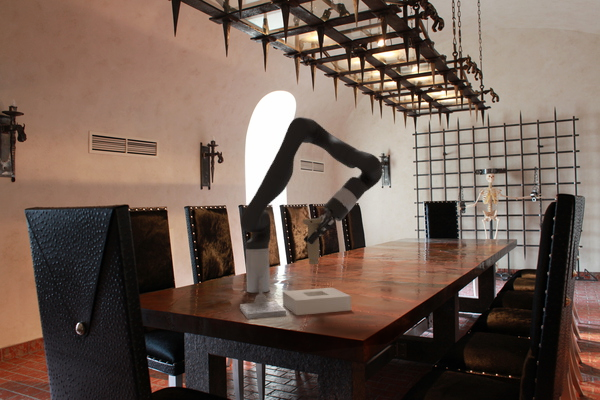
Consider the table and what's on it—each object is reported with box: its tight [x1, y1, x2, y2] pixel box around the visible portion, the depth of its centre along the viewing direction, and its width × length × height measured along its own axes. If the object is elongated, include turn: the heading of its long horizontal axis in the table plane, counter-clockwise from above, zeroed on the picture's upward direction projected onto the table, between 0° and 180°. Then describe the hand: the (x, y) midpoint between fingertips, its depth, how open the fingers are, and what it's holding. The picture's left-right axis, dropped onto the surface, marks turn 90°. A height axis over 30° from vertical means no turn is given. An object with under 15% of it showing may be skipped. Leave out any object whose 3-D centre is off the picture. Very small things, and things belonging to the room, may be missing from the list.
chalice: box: [250, 249, 270, 303], centre depth 172 cm, size 7×7×18 cm
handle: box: [302, 218, 322, 266], centre depth 159 cm, size 5×6×15 cm
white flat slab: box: [239, 300, 287, 320], centre depth 154 cm, size 16×12×2 cm
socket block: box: [282, 287, 352, 316], centre depth 159 cm, size 18×18×4 cm
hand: (307, 241), depth 159 cm, fingers closed on handle, 3 cm apart
